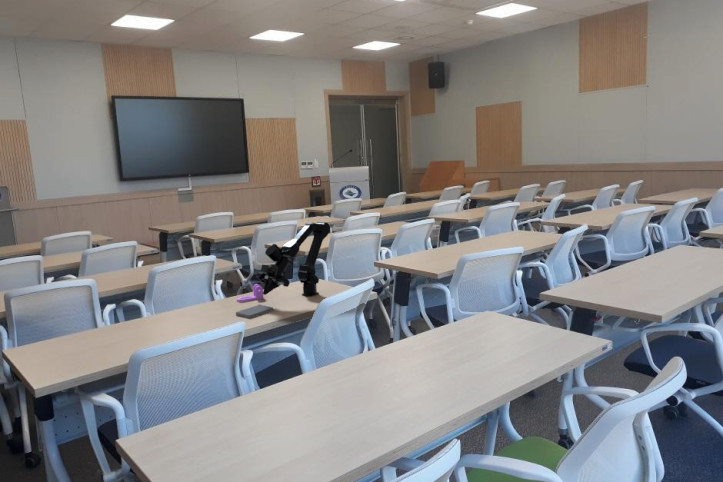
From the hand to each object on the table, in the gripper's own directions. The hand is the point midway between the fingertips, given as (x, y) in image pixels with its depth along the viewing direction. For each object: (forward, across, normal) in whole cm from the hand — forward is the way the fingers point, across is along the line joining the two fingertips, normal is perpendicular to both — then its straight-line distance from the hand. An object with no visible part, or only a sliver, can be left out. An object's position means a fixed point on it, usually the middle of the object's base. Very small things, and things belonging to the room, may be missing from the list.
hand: (264, 294), depth 267 cm
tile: (+4, 0, +5) cm, 7 cm away
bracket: (0, -22, +11) cm, 25 cm away
